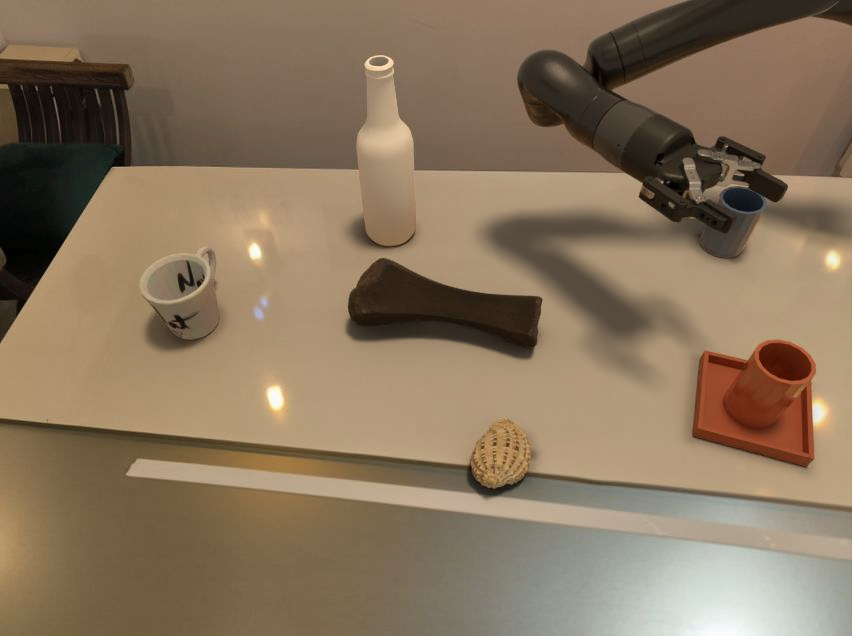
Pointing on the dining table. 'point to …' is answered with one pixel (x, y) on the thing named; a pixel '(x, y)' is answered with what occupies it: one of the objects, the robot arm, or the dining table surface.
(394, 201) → the alcohol
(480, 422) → the dining table surface
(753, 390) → the terracotta cup
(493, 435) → the seashell
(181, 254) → the mug
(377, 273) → the dark brown bone
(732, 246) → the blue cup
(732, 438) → the terracotta tray
